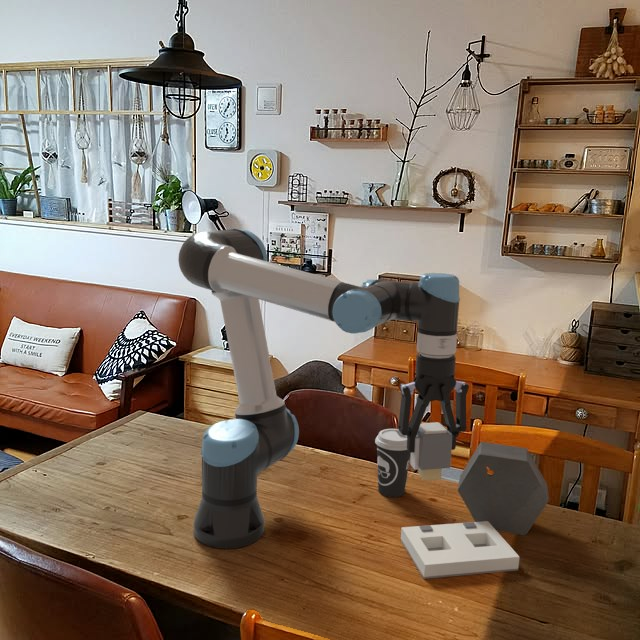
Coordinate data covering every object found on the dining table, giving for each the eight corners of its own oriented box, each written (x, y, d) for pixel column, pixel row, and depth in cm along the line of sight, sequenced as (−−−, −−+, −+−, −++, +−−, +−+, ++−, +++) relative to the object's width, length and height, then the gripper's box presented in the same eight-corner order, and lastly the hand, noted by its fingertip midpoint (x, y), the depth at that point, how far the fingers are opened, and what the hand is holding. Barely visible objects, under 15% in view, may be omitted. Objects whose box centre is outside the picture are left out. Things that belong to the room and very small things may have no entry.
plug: (420, 484, 126) (423, 433, 124) (410, 471, 132) (412, 422, 130) (449, 482, 127) (452, 431, 125) (438, 469, 133) (440, 420, 131)
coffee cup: (409, 502, 155) (413, 444, 152) (369, 497, 157) (373, 439, 154) (411, 485, 164) (415, 429, 161) (374, 480, 166) (377, 425, 163)
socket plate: (423, 578, 125) (425, 563, 124) (400, 540, 138) (401, 525, 138) (518, 570, 129) (519, 554, 128) (486, 533, 142) (488, 519, 142)
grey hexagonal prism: (558, 505, 146) (514, 427, 146) (561, 521, 139) (515, 439, 139) (491, 531, 152) (448, 455, 152) (490, 548, 145) (445, 469, 144)
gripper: (395, 360, 119) (390, 477, 123) (490, 356, 123) (482, 470, 127) (383, 350, 126) (379, 461, 131) (473, 347, 130) (466, 455, 134)
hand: (430, 465), depth 129 cm, fingers closed on plug, 6 cm apart
